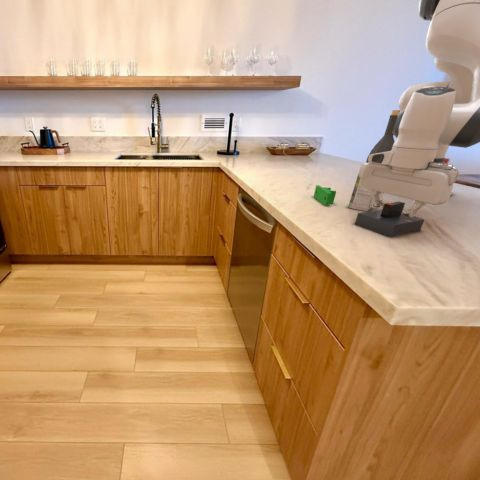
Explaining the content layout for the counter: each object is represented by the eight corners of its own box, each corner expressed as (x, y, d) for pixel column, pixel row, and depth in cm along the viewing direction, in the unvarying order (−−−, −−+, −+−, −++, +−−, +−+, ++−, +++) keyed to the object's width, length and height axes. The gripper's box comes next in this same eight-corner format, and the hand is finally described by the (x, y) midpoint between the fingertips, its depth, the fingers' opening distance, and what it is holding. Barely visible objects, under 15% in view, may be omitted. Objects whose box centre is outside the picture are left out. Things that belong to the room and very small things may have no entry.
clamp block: (382, 219, 86) (386, 207, 85) (420, 231, 78) (425, 218, 76) (354, 224, 82) (357, 212, 81) (390, 237, 74) (395, 224, 72)
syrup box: (352, 204, 100) (365, 161, 94) (372, 208, 96) (386, 164, 90) (347, 207, 96) (360, 163, 90) (368, 212, 92) (382, 166, 86)
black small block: (394, 213, 80) (399, 200, 79) (400, 215, 79) (405, 202, 77) (380, 216, 78) (384, 202, 77) (386, 217, 77) (390, 204, 75)
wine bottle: (384, 206, 98) (417, 110, 85) (356, 203, 100) (385, 110, 88) (377, 200, 104) (407, 110, 92) (352, 197, 107) (377, 110, 95)
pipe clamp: (336, 206, 98) (340, 193, 96) (325, 206, 98) (328, 193, 96) (323, 197, 108) (326, 185, 106) (313, 196, 108) (316, 184, 106)
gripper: (470, 165, 64) (444, 222, 70) (378, 153, 82) (364, 200, 88) (453, 167, 62) (428, 225, 68) (363, 154, 80) (349, 202, 86)
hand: (391, 211), depth 78 cm, fingers open, 7 cm apart
